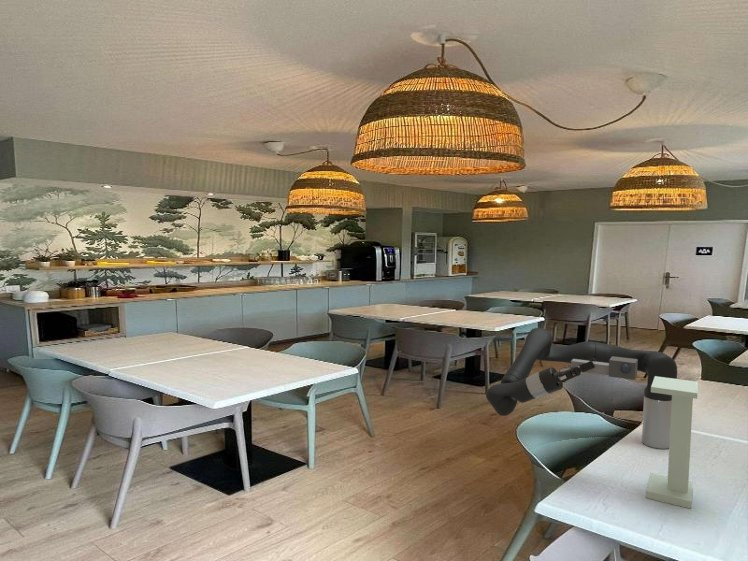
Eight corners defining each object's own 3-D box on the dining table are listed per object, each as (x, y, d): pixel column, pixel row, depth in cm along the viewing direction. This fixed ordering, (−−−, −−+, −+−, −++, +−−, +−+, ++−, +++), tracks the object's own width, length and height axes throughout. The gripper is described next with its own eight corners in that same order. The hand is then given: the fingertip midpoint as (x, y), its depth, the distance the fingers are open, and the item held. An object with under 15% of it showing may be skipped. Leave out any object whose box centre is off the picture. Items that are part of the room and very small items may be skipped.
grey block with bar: (574, 367, 164) (574, 351, 164) (637, 375, 155) (637, 358, 154) (569, 371, 158) (569, 355, 158) (634, 380, 148) (635, 363, 148)
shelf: (649, 478, 157) (654, 376, 155) (692, 488, 152) (697, 381, 149) (645, 497, 146) (651, 386, 143) (691, 508, 140) (697, 393, 137)
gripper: (554, 388, 171) (604, 369, 163) (544, 399, 159) (596, 379, 151) (544, 367, 173) (592, 347, 164) (532, 376, 161) (584, 355, 152)
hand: (594, 362), depth 158 cm, fingers closed on grey block with bar, 3 cm apart
